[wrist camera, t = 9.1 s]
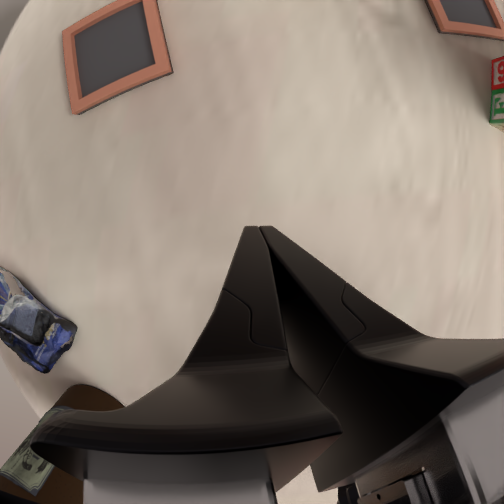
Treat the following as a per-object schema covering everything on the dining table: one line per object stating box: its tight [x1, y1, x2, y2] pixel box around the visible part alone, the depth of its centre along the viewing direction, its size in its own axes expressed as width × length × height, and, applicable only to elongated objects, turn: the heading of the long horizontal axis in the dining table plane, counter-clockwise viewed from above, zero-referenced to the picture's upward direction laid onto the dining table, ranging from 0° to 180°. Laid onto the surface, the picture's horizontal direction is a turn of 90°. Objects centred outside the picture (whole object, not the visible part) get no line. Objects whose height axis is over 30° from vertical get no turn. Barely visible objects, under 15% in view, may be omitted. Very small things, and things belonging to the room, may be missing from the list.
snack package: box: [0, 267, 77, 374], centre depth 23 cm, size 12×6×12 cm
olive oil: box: [0, 385, 124, 504], centre depth 16 cm, size 11×11×25 cm
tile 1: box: [62, 0, 173, 115], centre depth 17 cm, size 8×8×1 cm
